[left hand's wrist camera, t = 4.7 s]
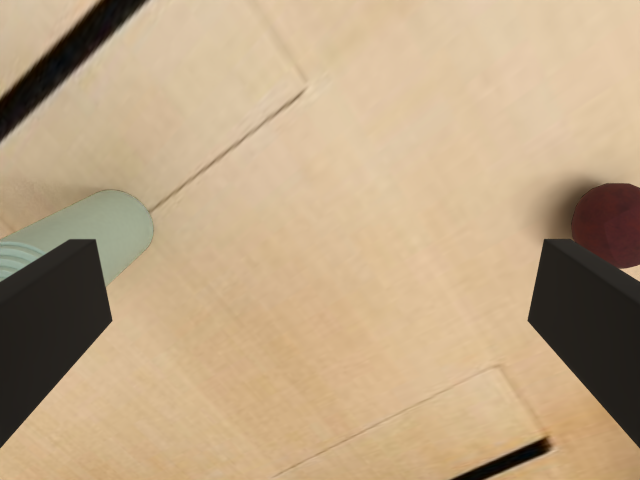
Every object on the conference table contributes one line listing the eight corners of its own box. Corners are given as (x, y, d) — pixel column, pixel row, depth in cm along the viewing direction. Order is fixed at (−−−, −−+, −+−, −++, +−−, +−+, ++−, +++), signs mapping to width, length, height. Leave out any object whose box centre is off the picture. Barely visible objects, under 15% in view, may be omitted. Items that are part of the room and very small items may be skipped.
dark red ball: (573, 262, 42) (619, 295, 36) (543, 201, 40) (586, 224, 34) (643, 224, 41) (705, 251, 34) (616, 159, 39) (677, 174, 32)
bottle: (162, 207, 41) (33, 307, 22) (142, 268, 43) (11, 403, 25) (89, 178, 40) (-107, 257, 21) (73, 241, 42) (-117, 363, 24)
